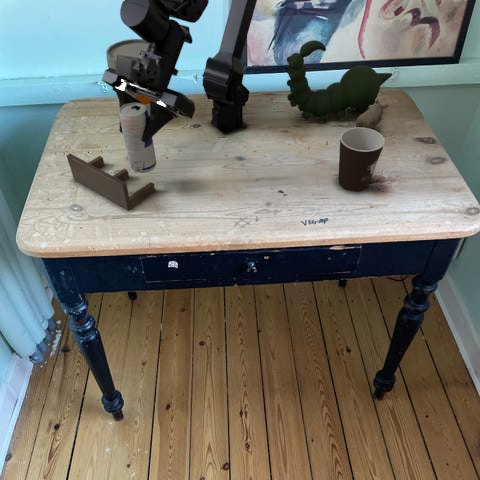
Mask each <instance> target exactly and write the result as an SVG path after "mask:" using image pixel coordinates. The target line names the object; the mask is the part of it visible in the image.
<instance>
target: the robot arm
mask: <svg viewBox="0 0 480 480" xmlns="http://www.w3.org/2000/svg"><path fill="white" fill-rule="evenodd" d="M209 2H210V0H123V1H122V3H121V6H120V10H119V16H120V19H121V22H122V24H124V25H125V26H126V27H127V28H129V29H130V30H131V31H132V32H133V33H134V34H136V35H137V36H138V38H139V39H143V40H144V41H146V42H147V43H149V45H148V48H147V51H142V50H141V52H140V53H139V55H138V57H137V58H136V57H130V56H123V55H117V61H116V70H115V69H112V68H107V69H105V70H104V72H103V74H102V78H101V81H102V82H103V83H105V84H106V85H107V86H109V87H111V88H112V91H113V92H115V94H116V97H117V96H118V97H117V99H118V98H119V99H118V103H119V109H120V108H121V107H122V106H123V105H126V104H129V103H140V104H141V103H142V102H140V101H138V100H137V99H136V96H137V95H136V94H139V95H142V96H145V97H147V98H150V99H153V100H155V101H157V103H155V102H153V101H150V115H149V118H148V120H147V123H146V126H145V129H144V132H143V136H142V142H144V143H146V142H147V141H148V140H150V139H151V138H152V139H153V137H154V136H155V135H156V134H157V133H158V132H159V131H160V130H161V129H162V128H163V127H165V126H167V125H168V124H169V123H170V122H171V121H173V119H178V118H179V115H180V116H182V117H184V118H187V119H191V120H193V118H194V115H195V112H196V105H195V104H196V103H195V102H194V101H193V100H192V99H190V98H189V97H188V96H186V95H185V94H183V93H182V92H180V91H177V90H174V89H172V88H168V87H169V86H170V82H171V79H172V77H173V76H175V77H177V76H178V74H179V70H178V69H177V68H176V66H177V63H178V60H179V57H180V55H181V52H182V49H183V47H184V45H185V43H186V44H190V45H191V44H193V37H192V34H191V31H190V30H191V29H190V26H187V25H184V24H180V23H179V22H178V21H177V20H180V21H183V22H187V23H190V24H195V23H197V22H198V21H200V19H201V17H202V15H203V14H204V12H205V10H206V8H207V7H208V5H209ZM257 2H258V0H231V4H230V7H229V11H228V16H227V18H226V22H225V26H224V31H223V35H222V38H221V42H220V46H219V49H218V52H217V53H216V54H215V55H214V56H213V57H210V56H209V57H208V58H207V59H206V61H205V68H204V71H203V73H202V76H201V77H202V84H201V85H202V87H203V90H204V93H205V95H206V96H205V97H206V98H207V100H211V101H212V108H211V120H210V124H211V125H212V126H214V127H215V128H216V129H217V130H218V131H219V132H220V133H221V134H222V135H226V134H229V133H232V132H236V131H238V130H241V129H245V128H246V127H247V124H246V122H244V120H243V119H244V118H243V117H244V116H243V114H244V113H243V112H244V111H243V110H244V109H243V108H244V107H246V106H247V103H248V102H249V99H250V92H251V91H250V90H249V89H248V88H247V86H245V85H244V84H243V80H244V75H245V74H244V69H243V64H242V56H243V52H244V49H245V45H246V42H247V38H248V34H249V31H250V27H251V23H252V20H253V16H254V12H255V9H256V5H257ZM175 19H177V20H175ZM177 113H178V115H177ZM119 133H120V134H123V132H122V127H121V122H120V121H119Z"/></svg>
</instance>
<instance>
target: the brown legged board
mask: <svg viewBox="0 0 480 480" xmlns="http://www.w3.org/2000/svg"><path fill="white" fill-rule="evenodd" d="M66 159H67V162H68V165H69V168H70V173H71V174H72V178H73V180H74V181H75V182H77V183H78V184H80V185H82V186H84V187H85V188H87V189H89V190H91V191H92V192H95V194H98V195H100V196H102V197H103V198H105V199H106V200H108V201H110V202H112V203H114V204H116V205H118V206H119V207H121V208H123V209H125V210H127V211H129V210H132V208H134V207H135V206H137V205H138V204H140V203H141V202H143V201H144V200H145V199H147V198H148V197H150V196H151V195H153V194H154V193H155V192H156V187H155V183H154V182H151V181H150V182H149V183H147V184H145V185H144V186H142V187H141V188H139V189H138V190H136V191H135V192H134V193H132V194H130V195H129V190H128V185H127V183H126V182H125V181H127V180H129V179H130V176H129V171H128V169H126V168H123V169H121V170H120V171H118V172H117V173H115V174H114V175H112V174H110V173H108V172H106V171H105V170H102V169H101V168H103V167H104V166H105V161H104V156H101V155H98V156H97V157H94V158H93V159H92V160H89V161H88V162H87V161H86V160H84V159H82V158H80V157H78V156H76V155H74V154H73V153H68V154H66Z"/></svg>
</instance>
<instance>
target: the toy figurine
mask: <svg viewBox="0 0 480 480" xmlns="http://www.w3.org/2000/svg"><path fill="white" fill-rule="evenodd" d="M320 50H321V51H322V52H326V51H327V47H326V45H325V44H324V43H323V42H321V41H319V40H309V41H306V42H304V43H303V44H302V45H301V47H300V49H299V52H294V53H292V54H291V55H289V56H287V57H286V63H287V64H288V67H287V68H286V73H287V75H288V77H289V79H288V80H287V81H286V86H288V87H289V91H290V93H288V94H287V100H288V101H289V104H290V106H291V108H295V107H297V109H298V110H299V112H302V113H301V117H302V119H303V120H308V119H310V118H311V115H313V116H315V117H317V118H318V121H319V122H320V123H326V121H327V120H328V116H329V115H330V114H334V115H335V117H336V119H337V120H343V119H344V118H346V116H347V111H346V110H347V109H351V110H354V111H355V112H356V113H357V114H358V115H359V116H360V115H361V114H363V113H364V112H366V111H367V110H368V109H369V108H370V107H371V106H374V105H375V104H376V101H377V98H378V96H379V93H380V90H381V86H382V85H383V84H384V83H385V82H387V81H388V80H389V79H391V77H392V76H393V73H392V72H376V70H375V69H373V68H372V67H370V66H368V65H363V64H360V65H359V64H358V65H355V66H353V67H351V68H349V69H347V70H346V71H345V73H344V74H343V75H342V77H340V80H339V81H336V82H333V83H330V84H329V85H328V86H327V87H326V88H325V89H324V88H322V89H318V90H312V89H311V87H310V86H308V85H309V79H308V77H306V75H307V68H306V67H305V59H304V58H306V57H309V56H310V55H311V54H313V53H314V52H316V51H320Z"/></svg>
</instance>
